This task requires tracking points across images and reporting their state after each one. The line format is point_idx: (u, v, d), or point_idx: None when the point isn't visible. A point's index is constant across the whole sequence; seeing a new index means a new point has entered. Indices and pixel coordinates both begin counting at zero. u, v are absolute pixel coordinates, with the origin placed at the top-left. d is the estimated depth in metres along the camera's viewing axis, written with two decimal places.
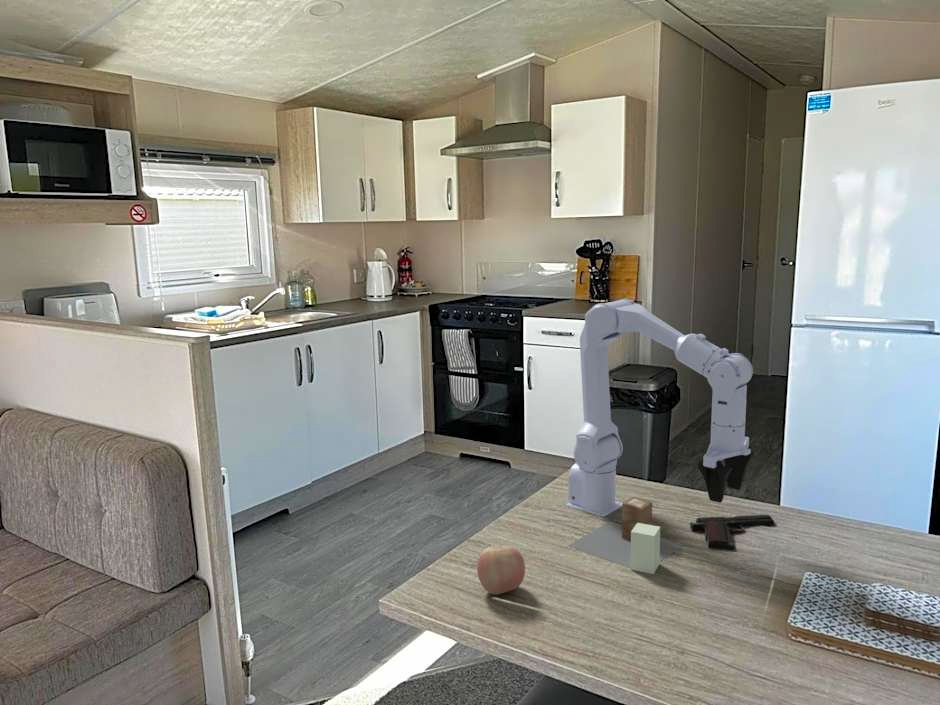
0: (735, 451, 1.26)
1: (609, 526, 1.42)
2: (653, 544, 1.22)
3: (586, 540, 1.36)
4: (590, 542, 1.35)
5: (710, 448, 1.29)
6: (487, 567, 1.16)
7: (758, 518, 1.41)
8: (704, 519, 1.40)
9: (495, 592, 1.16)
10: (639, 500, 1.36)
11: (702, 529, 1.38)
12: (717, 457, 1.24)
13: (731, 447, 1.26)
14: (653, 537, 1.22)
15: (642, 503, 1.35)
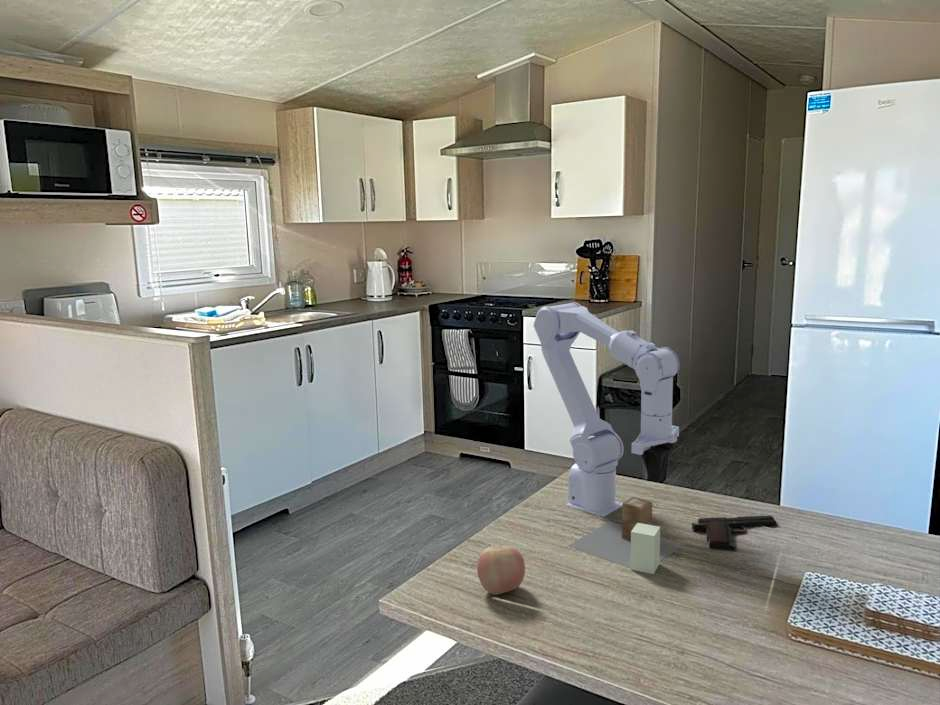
0: (662, 439, 1.35)
1: (609, 526, 1.42)
2: (653, 544, 1.22)
3: (586, 540, 1.36)
4: (590, 542, 1.35)
5: (640, 436, 1.37)
6: (487, 567, 1.16)
7: (760, 519, 1.41)
8: (706, 519, 1.40)
9: (495, 592, 1.16)
10: (639, 500, 1.36)
11: (704, 529, 1.38)
12: (644, 444, 1.32)
13: (658, 435, 1.35)
14: (653, 537, 1.22)
15: (642, 503, 1.35)
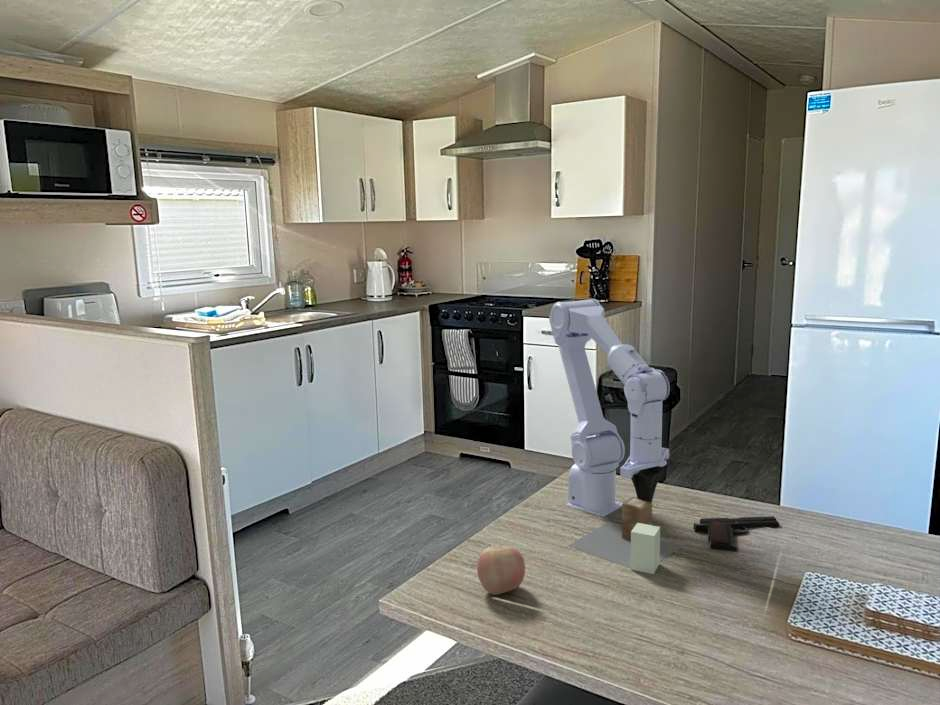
0: (651, 463, 1.33)
1: (609, 526, 1.42)
2: (653, 544, 1.22)
3: (586, 540, 1.36)
4: (590, 542, 1.35)
5: (629, 460, 1.35)
6: (487, 567, 1.16)
7: (762, 520, 1.41)
8: (708, 520, 1.40)
9: (495, 592, 1.16)
10: (639, 500, 1.36)
11: (705, 530, 1.38)
12: (633, 468, 1.30)
13: (648, 458, 1.33)
14: (653, 537, 1.22)
15: (642, 503, 1.35)
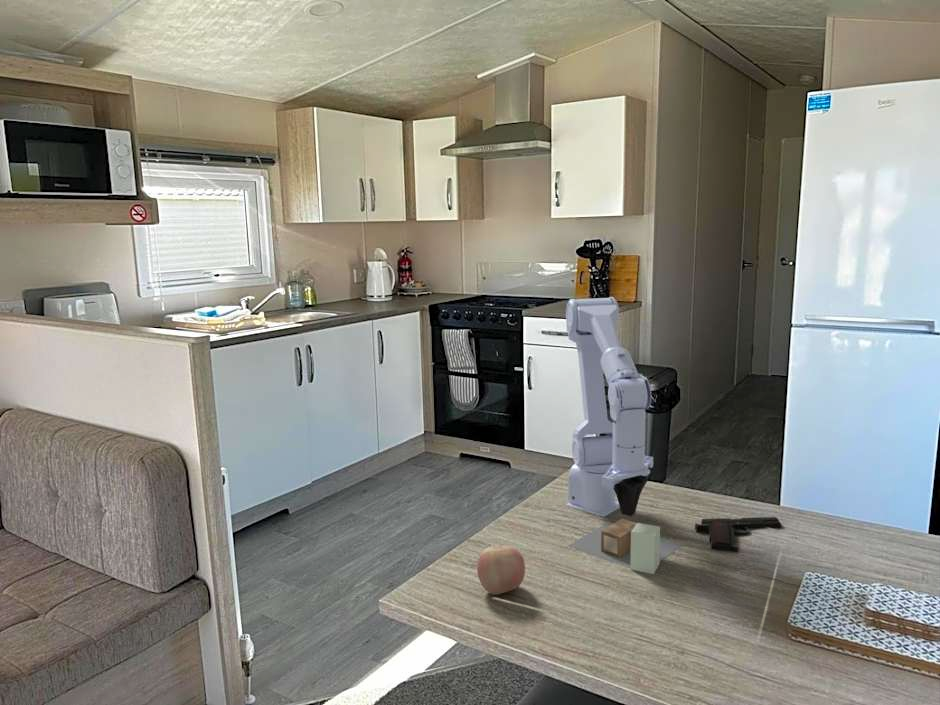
0: (634, 472, 1.28)
1: None
2: (653, 544, 1.22)
3: (586, 540, 1.36)
4: (590, 542, 1.35)
5: (611, 468, 1.31)
6: (487, 567, 1.16)
7: (765, 520, 1.40)
8: (709, 520, 1.39)
9: (495, 592, 1.16)
10: (609, 537, 1.30)
11: (707, 530, 1.37)
12: (615, 478, 1.26)
13: (630, 467, 1.28)
14: (653, 537, 1.22)
15: (615, 545, 1.29)
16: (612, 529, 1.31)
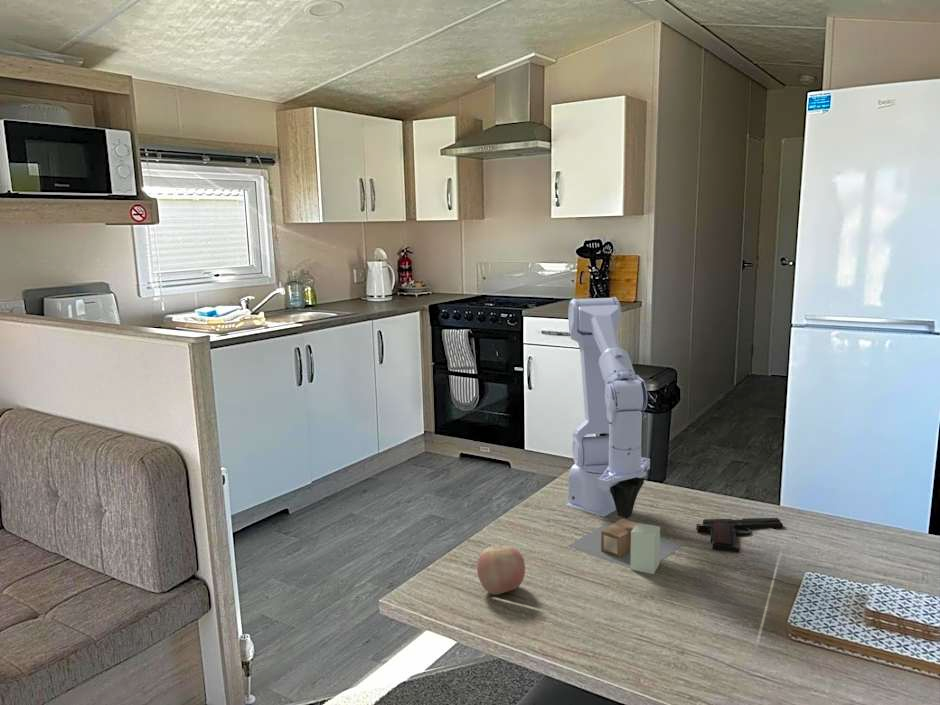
0: (630, 474, 1.27)
1: None
2: (653, 544, 1.22)
3: (586, 540, 1.36)
4: (590, 542, 1.35)
5: (607, 470, 1.30)
6: (487, 567, 1.16)
7: (766, 521, 1.40)
8: (711, 521, 1.39)
9: (495, 592, 1.16)
10: (609, 537, 1.30)
11: (708, 531, 1.37)
12: (611, 480, 1.25)
13: (627, 469, 1.27)
14: (653, 537, 1.22)
15: (615, 545, 1.29)
16: (612, 529, 1.31)
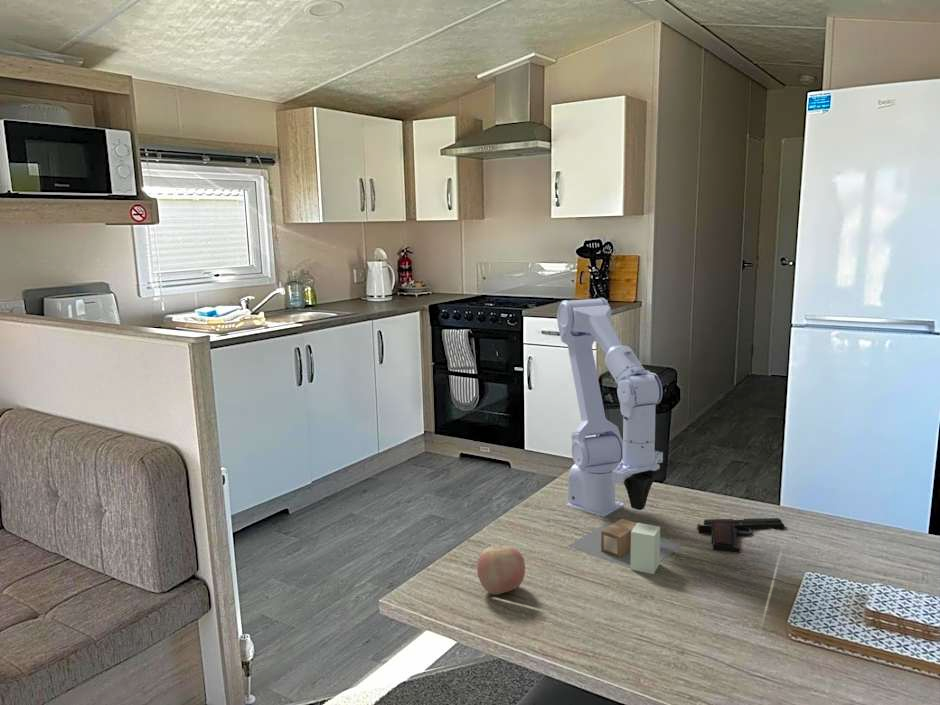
0: (644, 466, 1.31)
1: None
2: (653, 544, 1.22)
3: (586, 540, 1.36)
4: (590, 542, 1.35)
5: (622, 463, 1.33)
6: (487, 567, 1.16)
7: (767, 521, 1.40)
8: (712, 521, 1.39)
9: (495, 592, 1.16)
10: (609, 537, 1.30)
11: (709, 531, 1.37)
12: (625, 472, 1.29)
13: (640, 462, 1.31)
14: (653, 537, 1.22)
15: (615, 545, 1.29)
16: (612, 529, 1.31)
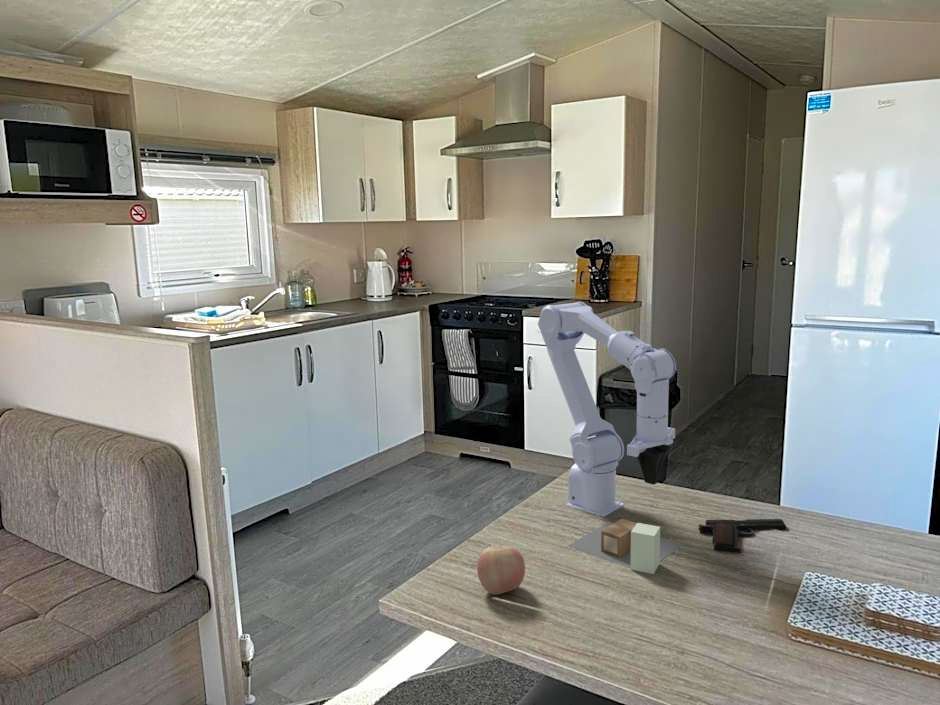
0: (658, 441, 1.33)
1: None
2: (653, 544, 1.22)
3: (586, 540, 1.36)
4: (590, 542, 1.35)
5: (635, 438, 1.36)
6: (487, 567, 1.16)
7: (769, 522, 1.39)
8: (713, 521, 1.39)
9: (495, 592, 1.16)
10: (609, 537, 1.30)
11: (710, 531, 1.37)
12: (639, 446, 1.31)
13: (654, 437, 1.33)
14: (653, 537, 1.22)
15: (615, 545, 1.29)
16: (612, 529, 1.31)
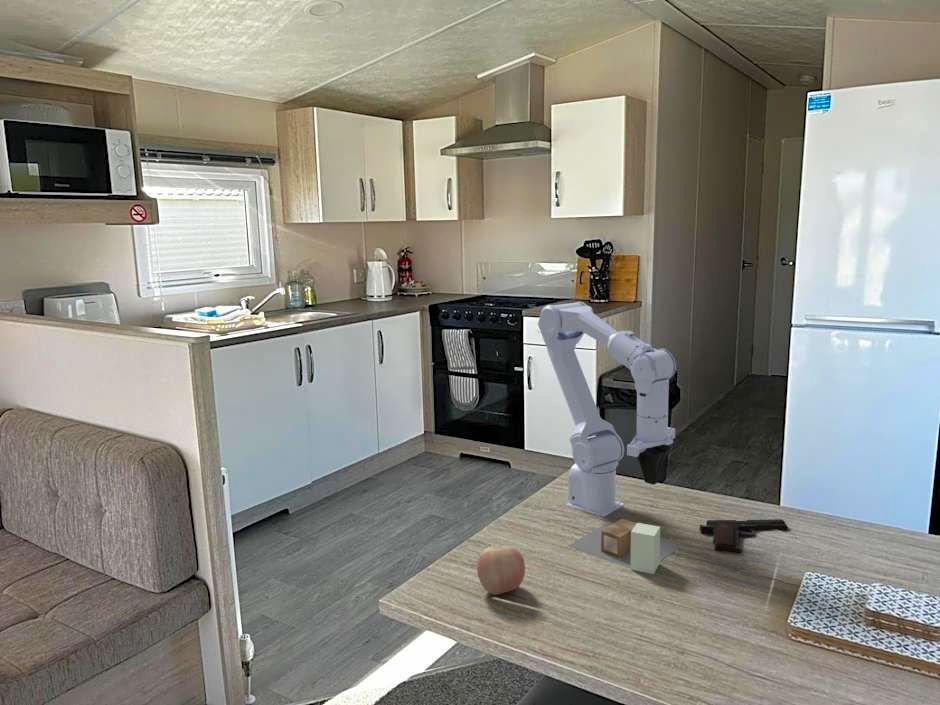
0: (658, 441, 1.33)
1: None
2: (653, 544, 1.22)
3: (586, 540, 1.36)
4: (590, 542, 1.35)
5: (635, 438, 1.36)
6: (487, 567, 1.16)
7: (771, 522, 1.39)
8: (714, 522, 1.39)
9: (495, 592, 1.16)
10: (609, 537, 1.30)
11: (711, 532, 1.37)
12: (639, 446, 1.31)
13: (654, 437, 1.33)
14: (653, 537, 1.22)
15: (615, 545, 1.29)
16: (612, 529, 1.31)
